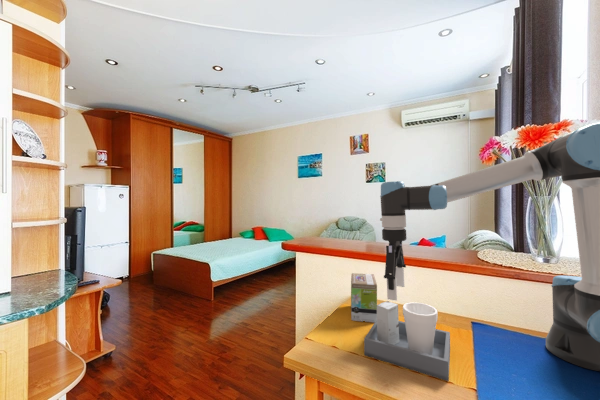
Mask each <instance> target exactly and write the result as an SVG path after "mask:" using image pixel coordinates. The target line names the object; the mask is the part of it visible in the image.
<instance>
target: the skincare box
mask: <svg viewBox="0 0 600 400" xmlns="http://www.w3.org/2000/svg"><path fill="white" fill-rule="evenodd" d="M399 321H400V320H399V304H398V303H396V302H391V301H390V300H389V301H388V300H387V301H383V302H381V303H377V341H381V342H385V343H388V344H392V345H395V344H397V343H398V342H399Z"/></svg>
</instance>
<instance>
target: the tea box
mask: <svg viewBox="0 0 600 400" xmlns="http://www.w3.org/2000/svg"><path fill="white" fill-rule="evenodd" d="M350 275H351V278H350V279H351V280H350V312H351V313H350V314H351V317H350V318H351V321H354V322H355V321H356V322H363V321H365V322H366V323H375V321H376V320H377V305H378V285H377V280H376V278H375V274H373V273H356V272H354V273H353V272H352V273H351V274H350Z"/></svg>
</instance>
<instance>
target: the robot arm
mask: <svg viewBox="0 0 600 400" xmlns="http://www.w3.org/2000/svg"><path fill="white" fill-rule="evenodd" d="M557 177H558V178H559V177H561V181H562V183H563V184H564V185H566V186H568V187H570V189H571V195H572V204H573V205H572V207H573V213H574V221H575V229H576V238H577V248H578V249H577V250H578V256H579V264H580V274H581V276H577V275H576V276H575V275H556V276H553V278H552V284H551V288H552V294H551V295H552V319H553V320H552V324H551V326H550V329H549V331H548V333H547V335H546V337H545V347H546V349H547V350H548V351H549V352H550V353H551V354H552V355H554V356H556V357H557V358H559V359H561V360H563V361H565V362H568V363H570V364H572V365H575V366H578V367H581V368H584V369H588V370H590V371H591V370H592V371H596V372H600V121H599V122H595V123H592V124H588V125H583V126H581V127H579V128H577V129H576V130H574V131H572V132H569V133H567V134H564V135H562V136H560V137H557V138H556V139H554V140H553V141H550V142H548V143H546V144H544V145H542V146H540V147H537V148H534V149H531V150H529V151H526V152H525V153H524V154H523V156H520V157H517V158H514V159H510V160H508V161H504V162H501V163H497V164H494V165H491V166H489V167H485V168H482V169H479V170H478V169H477V170H476V171H473V172H472V171H471V172H469V173H466V174H463V175H460V176H459V175H458V176H457V177H453V178H450V179H447V180H444V181H439V182H437V183H434V184H431V185H422V186H421V185H420V186H405V183H404V181H399V180H398V181H385V182H382V183H381V184H380V196H379V197H380V210H381V218H380V219H379V221H381V227H382V229H381V234H382V235H381V237H382V240H383V241H386V242H388V245H386V246H385V268H384V269H385V270H384V275H383V279H386V290H387V291H386V293H387V300H389V301H390V300H391V301H398V291H397V290H398V289H397V287H399V288H400V287H401V288H404V287H405V269H404V268H407V265H406V264H405V262H406V261H405V257H404V251H403V242H404V241H406V240H407V229H406V227H407V219H406V218H407V216H406V211H414V210H415V211H417V210H418V211H420V210H421V211H427V210H428V211H429V210H431V211H436V210H445V209H446V208H447V207H448V203H452V202H454V201H457V200H461V199H466V198H469V197H472V196H476V195H480V194H484V193H486V192H487V193H488V192H490V191H495V190H498V189H502V188H505V187H509V186H512V185H515V184H521V183H523V182H528V181H530V180H534V181H536V182H540V181H543V180H547V179H551V178H557Z"/></svg>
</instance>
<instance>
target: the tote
mask: <svg viewBox="0 0 600 400" xmlns="http://www.w3.org/2000/svg"><path fill="white" fill-rule="evenodd" d="M363 342H364V343H363V344H364V345H363V347H364V348H363V349H364V351H363V352H364V356H366V357H368V358H369V357H370V358H371V359H375V360H379V361H381V362H385V363H389V364H391V365H394V366H398V367H400V368H401V367H402V368H404V369H407V370H411V371H414V372H417V373H421V374H423V375H427V376H430V377H433V378H435V379H436V378H437V379H440V380H443V381H446V382H449V380H450V379H449V378H450V362H451V361H450V360H451V359H450V358H451V332H450V331H447V330H442V329H435V337H434V345H433V352H432V355H429V354H425V353H421V352H418V351H414V350H410V349H409V346H408V340H407V333H406V326H405V321H402V320H401V321H400V320H399V342H398V343H397V344H395V345H392V344H388V343H385V342H381V341H377V320H376V321H375V322H373V325H372V326H371V328H369V331H368V332H367V334H366V335H365V337H364V339H363Z"/></svg>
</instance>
